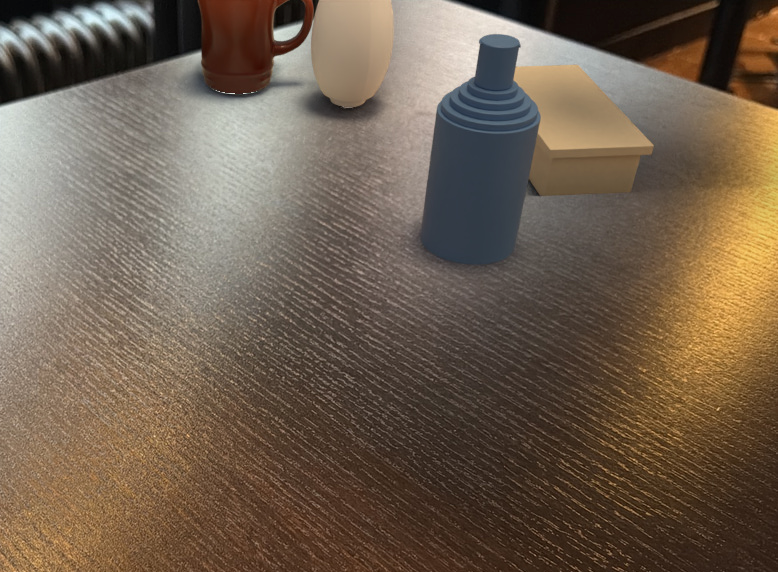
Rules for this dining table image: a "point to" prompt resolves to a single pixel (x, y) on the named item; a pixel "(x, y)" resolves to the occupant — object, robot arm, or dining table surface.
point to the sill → (579, 134)
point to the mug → (243, 42)
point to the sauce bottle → (351, 48)
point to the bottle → (480, 161)
